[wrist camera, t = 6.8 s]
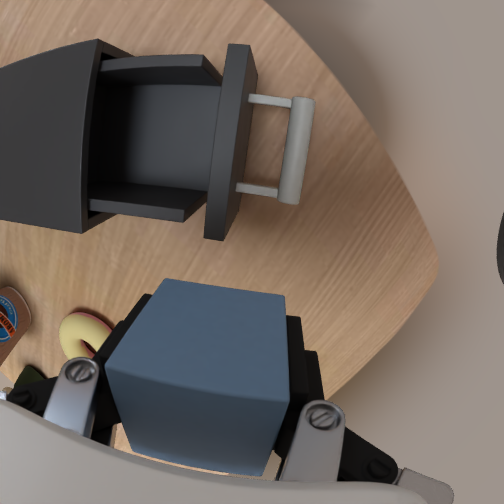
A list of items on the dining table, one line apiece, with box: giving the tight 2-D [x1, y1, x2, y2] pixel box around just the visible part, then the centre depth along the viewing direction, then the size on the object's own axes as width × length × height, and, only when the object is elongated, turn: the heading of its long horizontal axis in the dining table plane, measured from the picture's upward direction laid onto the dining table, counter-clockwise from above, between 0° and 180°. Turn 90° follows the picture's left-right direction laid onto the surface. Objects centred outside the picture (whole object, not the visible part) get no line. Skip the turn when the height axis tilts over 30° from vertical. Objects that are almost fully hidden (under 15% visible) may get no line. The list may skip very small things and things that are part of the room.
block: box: [105, 278, 290, 476], centre depth 9 cm, size 4×4×5 cm
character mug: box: [2, 366, 45, 394], centre depth 32 cm, size 11×7×13 cm, turn 149°
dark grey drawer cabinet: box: [0, 39, 135, 234], centre depth 19 cm, size 15×13×10 cm
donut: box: [59, 312, 112, 360], centre depth 31 cm, size 10×5×9 cm
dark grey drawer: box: [87, 44, 315, 241], centre depth 19 cm, size 18×11×8 cm, turn 82°
